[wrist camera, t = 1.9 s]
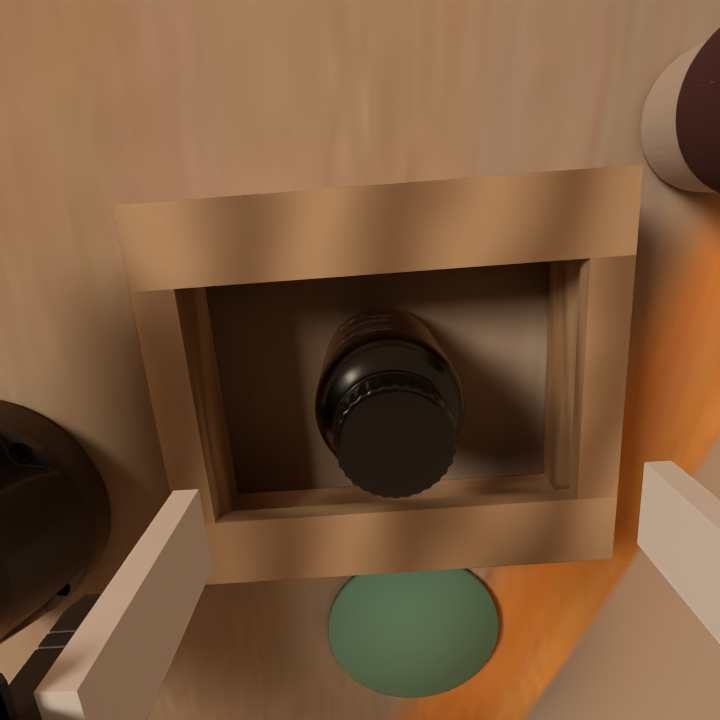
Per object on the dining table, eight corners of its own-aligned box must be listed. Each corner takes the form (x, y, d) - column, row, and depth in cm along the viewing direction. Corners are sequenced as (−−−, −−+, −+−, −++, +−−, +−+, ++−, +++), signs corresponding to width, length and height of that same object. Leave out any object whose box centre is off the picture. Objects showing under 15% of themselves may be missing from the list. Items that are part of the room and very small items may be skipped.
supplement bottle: (458, 375, 31) (517, 472, 20) (364, 431, 32) (368, 554, 21) (400, 281, 29) (427, 325, 18) (303, 342, 30) (270, 422, 19)
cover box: (222, 511, 34) (188, 585, 27) (170, 207, 28) (111, 205, 21) (560, 488, 33) (612, 558, 27) (574, 176, 28) (643, 164, 21)
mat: (336, 694, 38) (336, 702, 38) (321, 560, 35) (320, 565, 34) (496, 685, 38) (498, 692, 37) (496, 548, 34) (499, 554, 34)
